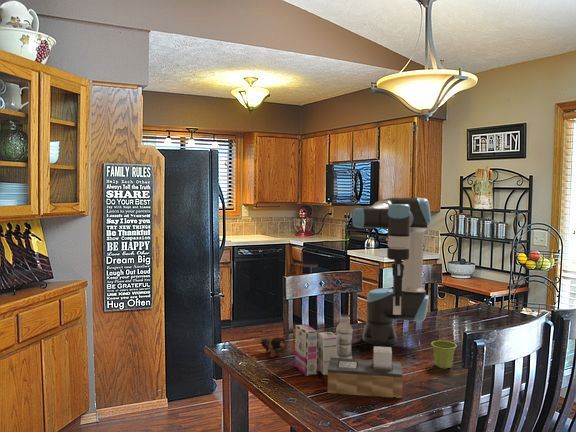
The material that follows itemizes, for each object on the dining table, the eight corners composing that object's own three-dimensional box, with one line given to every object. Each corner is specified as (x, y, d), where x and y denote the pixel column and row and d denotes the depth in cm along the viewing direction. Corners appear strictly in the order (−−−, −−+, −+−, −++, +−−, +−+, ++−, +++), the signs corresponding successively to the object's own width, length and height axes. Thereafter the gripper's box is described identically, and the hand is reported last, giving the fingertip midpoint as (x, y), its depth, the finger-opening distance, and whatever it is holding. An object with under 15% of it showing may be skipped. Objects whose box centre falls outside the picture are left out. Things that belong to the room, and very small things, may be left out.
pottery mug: (290, 352, 212) (292, 338, 208) (281, 368, 205) (283, 354, 200) (264, 342, 215) (265, 328, 211) (255, 358, 208) (256, 344, 203)
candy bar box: (318, 374, 186) (318, 331, 185) (306, 376, 184) (306, 332, 183) (306, 364, 196) (306, 323, 195) (294, 366, 194) (294, 324, 193)
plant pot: (455, 371, 189) (456, 349, 189) (429, 368, 193) (430, 346, 192) (456, 363, 198) (457, 342, 198) (431, 360, 201) (432, 339, 201)
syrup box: (337, 373, 187) (337, 335, 186) (322, 375, 185) (323, 336, 184) (331, 368, 192) (332, 331, 191) (317, 369, 191) (317, 332, 190)
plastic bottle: (342, 371, 189) (342, 319, 188) (332, 365, 195) (332, 314, 194) (356, 368, 192) (356, 317, 191) (346, 363, 198) (346, 313, 197)
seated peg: (339, 381, 178) (339, 361, 178) (356, 382, 177) (356, 362, 177) (338, 388, 172) (338, 367, 172) (355, 389, 171) (356, 368, 171)
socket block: (330, 379, 182) (330, 357, 181) (400, 383, 178) (400, 361, 177) (327, 392, 170) (327, 369, 169) (402, 398, 166) (402, 374, 165)
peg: (373, 367, 176) (373, 346, 175) (390, 368, 175) (391, 347, 174) (373, 373, 170) (373, 351, 169) (391, 374, 169) (391, 352, 168)
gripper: (386, 245, 184) (385, 309, 185) (388, 249, 171) (386, 318, 172) (407, 246, 183) (406, 310, 184) (410, 250, 170) (409, 319, 171)
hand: (396, 314), depth 178 cm, fingers closed
